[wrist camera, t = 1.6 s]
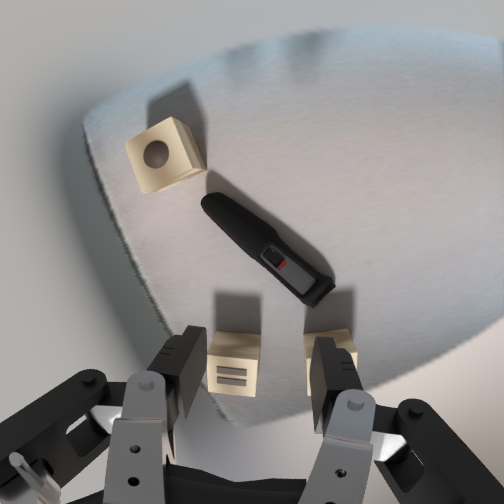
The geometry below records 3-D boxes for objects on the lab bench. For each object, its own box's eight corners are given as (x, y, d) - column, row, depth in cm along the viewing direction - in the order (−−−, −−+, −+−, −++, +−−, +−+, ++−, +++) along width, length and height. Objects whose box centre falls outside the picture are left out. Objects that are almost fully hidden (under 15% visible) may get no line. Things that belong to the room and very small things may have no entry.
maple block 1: (189, 125, 26) (170, 116, 21) (207, 169, 27) (191, 168, 22) (147, 148, 27) (123, 143, 22) (164, 190, 28) (142, 193, 23)
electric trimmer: (223, 181, 28) (215, 181, 25) (337, 282, 29) (343, 293, 26) (199, 209, 29) (189, 213, 26) (312, 307, 30) (315, 320, 27)
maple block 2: (261, 334, 31) (257, 360, 26) (258, 369, 32) (255, 397, 27) (216, 330, 31) (206, 355, 26) (217, 365, 33) (208, 392, 28)
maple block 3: (347, 327, 30) (357, 352, 25) (346, 363, 31) (354, 390, 26) (303, 333, 30) (306, 359, 26) (305, 368, 32) (307, 396, 27)
